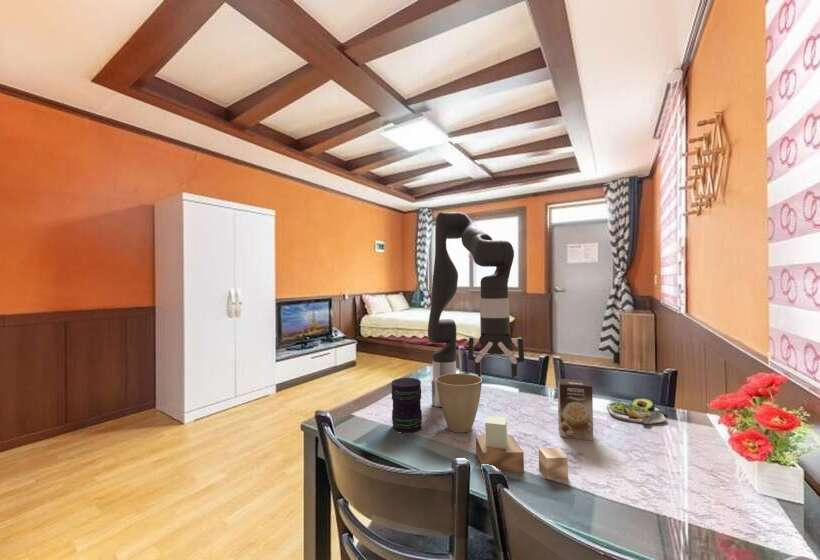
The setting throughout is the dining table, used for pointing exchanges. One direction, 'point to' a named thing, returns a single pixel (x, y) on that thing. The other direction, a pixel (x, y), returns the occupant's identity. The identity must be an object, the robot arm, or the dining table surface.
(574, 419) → the coffee box
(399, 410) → the storage jar
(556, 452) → the maple block
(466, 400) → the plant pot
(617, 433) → the dining table surface
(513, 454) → the walnut block
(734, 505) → the dining table surface
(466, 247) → the robot arm
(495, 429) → the sage block
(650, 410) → the salad plate
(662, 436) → the dining table surface
